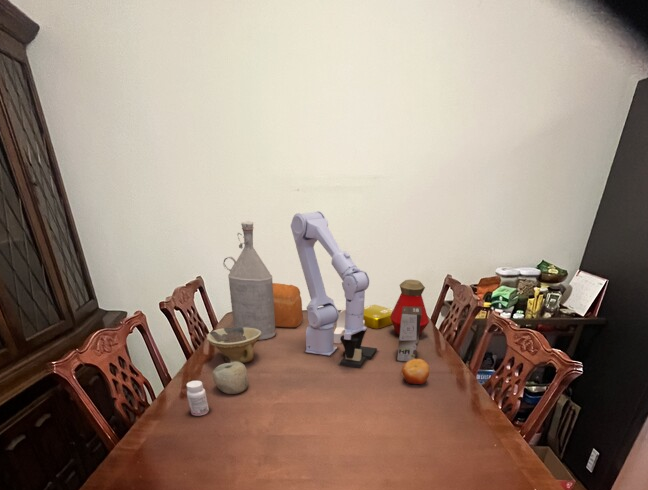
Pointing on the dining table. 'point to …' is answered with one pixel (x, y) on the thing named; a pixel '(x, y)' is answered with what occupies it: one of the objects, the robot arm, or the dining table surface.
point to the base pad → (366, 352)
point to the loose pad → (354, 360)
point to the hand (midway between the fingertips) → (353, 353)
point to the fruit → (415, 371)
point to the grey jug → (251, 288)
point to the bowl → (235, 342)
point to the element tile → (377, 316)
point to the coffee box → (409, 333)
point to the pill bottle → (197, 398)
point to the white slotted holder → (341, 326)
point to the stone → (231, 377)
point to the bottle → (409, 303)
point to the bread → (287, 305)
